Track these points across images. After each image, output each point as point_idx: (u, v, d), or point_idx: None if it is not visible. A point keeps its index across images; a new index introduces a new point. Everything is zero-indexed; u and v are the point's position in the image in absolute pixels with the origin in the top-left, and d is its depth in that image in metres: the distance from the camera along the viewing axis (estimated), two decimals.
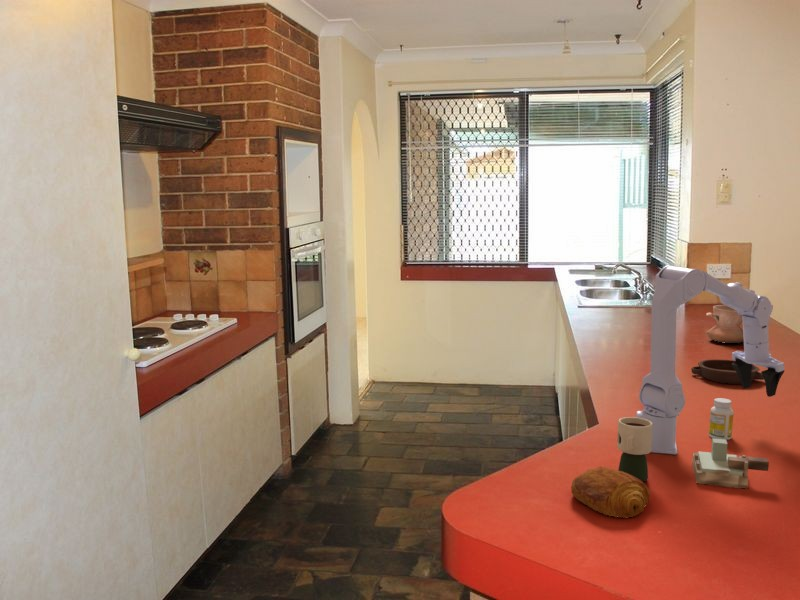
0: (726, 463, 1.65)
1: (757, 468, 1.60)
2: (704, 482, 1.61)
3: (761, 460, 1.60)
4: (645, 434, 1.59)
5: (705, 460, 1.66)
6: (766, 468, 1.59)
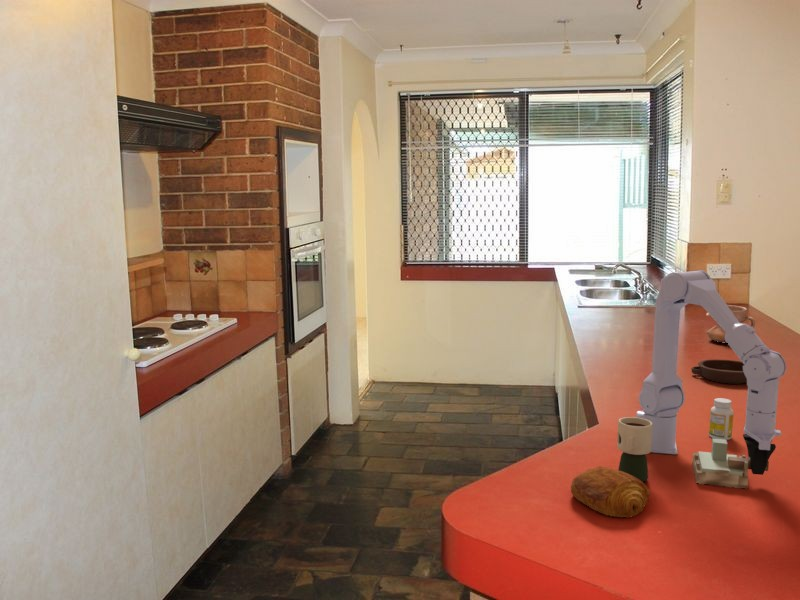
0: (726, 463, 1.65)
1: None
2: (704, 482, 1.61)
3: None
4: (645, 434, 1.59)
5: (705, 460, 1.66)
6: (766, 468, 1.59)
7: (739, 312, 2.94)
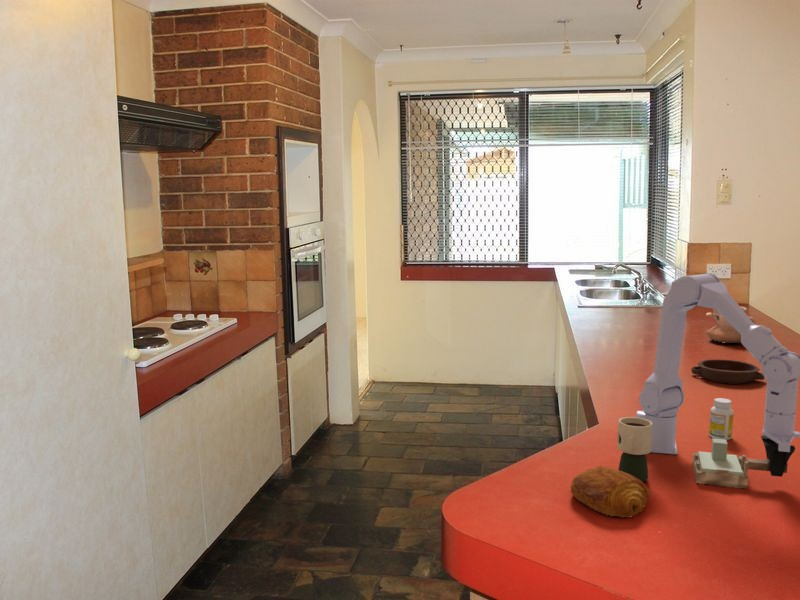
0: (726, 463, 1.65)
1: None
2: (704, 482, 1.61)
3: None
4: (645, 434, 1.59)
5: (705, 460, 1.66)
6: (785, 470, 1.58)
7: None
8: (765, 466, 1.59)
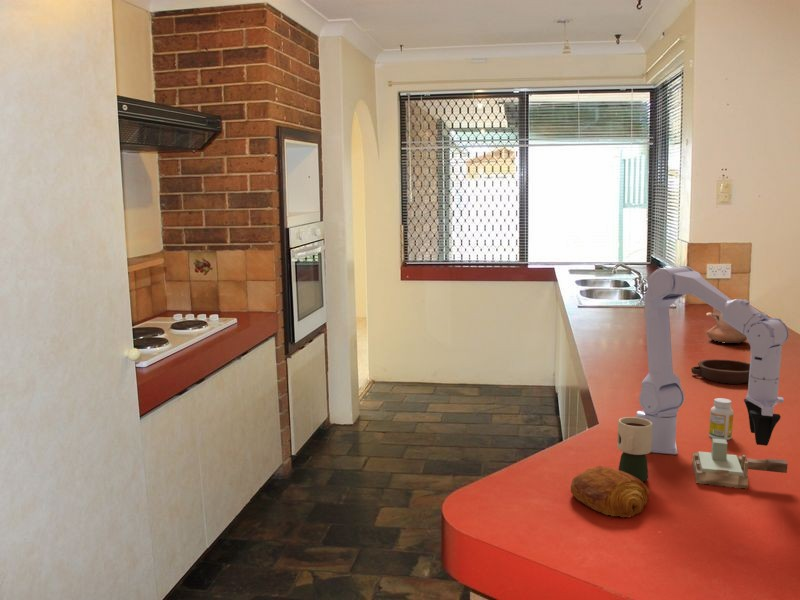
0: (726, 463, 1.65)
1: (776, 470, 1.59)
2: (704, 482, 1.61)
3: (780, 462, 1.59)
4: (645, 434, 1.59)
5: (705, 460, 1.66)
6: (785, 470, 1.58)
7: None
8: (765, 466, 1.59)
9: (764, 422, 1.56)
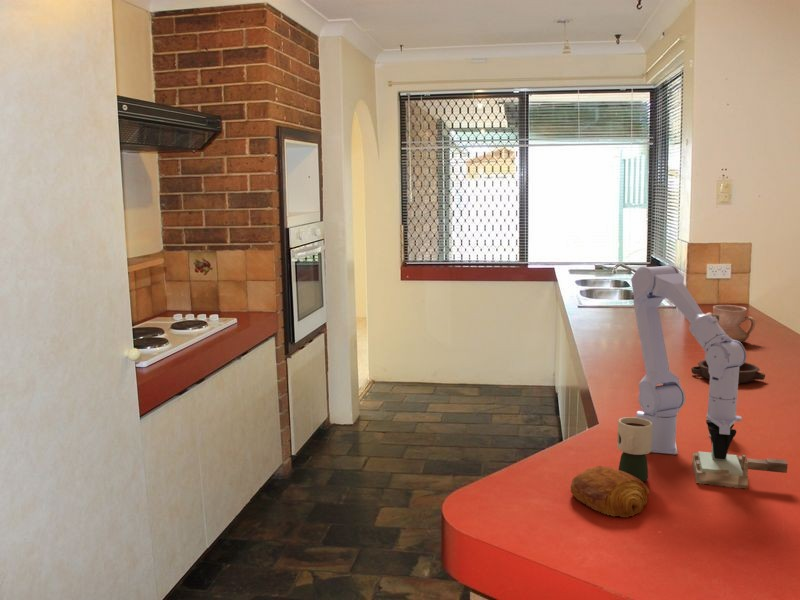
0: (726, 463, 1.65)
1: (776, 470, 1.59)
2: (704, 482, 1.61)
3: (780, 462, 1.59)
4: (645, 434, 1.59)
5: (705, 460, 1.66)
6: (785, 470, 1.58)
7: (739, 312, 2.94)
8: (765, 466, 1.59)
9: (721, 437, 1.65)
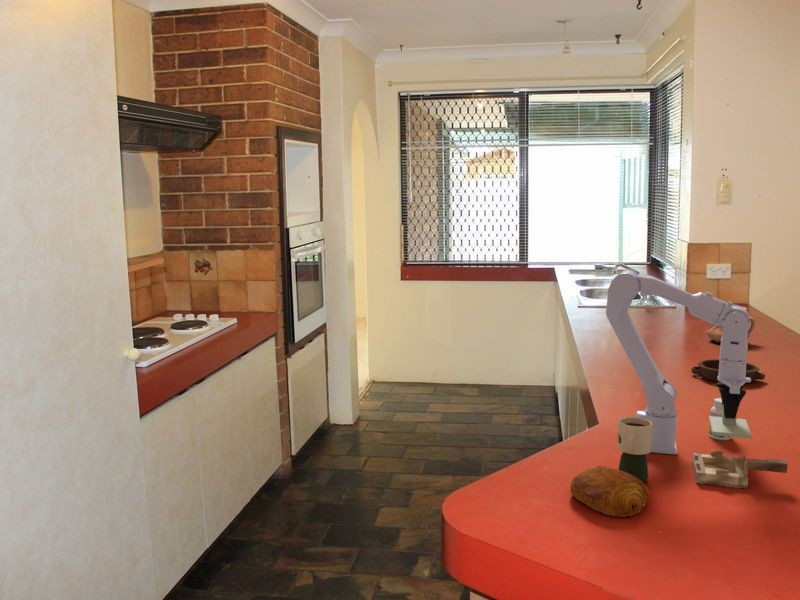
0: (736, 427, 1.73)
1: (776, 470, 1.59)
2: (704, 482, 1.61)
3: (780, 462, 1.59)
4: (645, 434, 1.59)
5: (716, 424, 1.75)
6: (785, 470, 1.58)
7: None
8: (765, 466, 1.59)
9: (731, 397, 1.73)
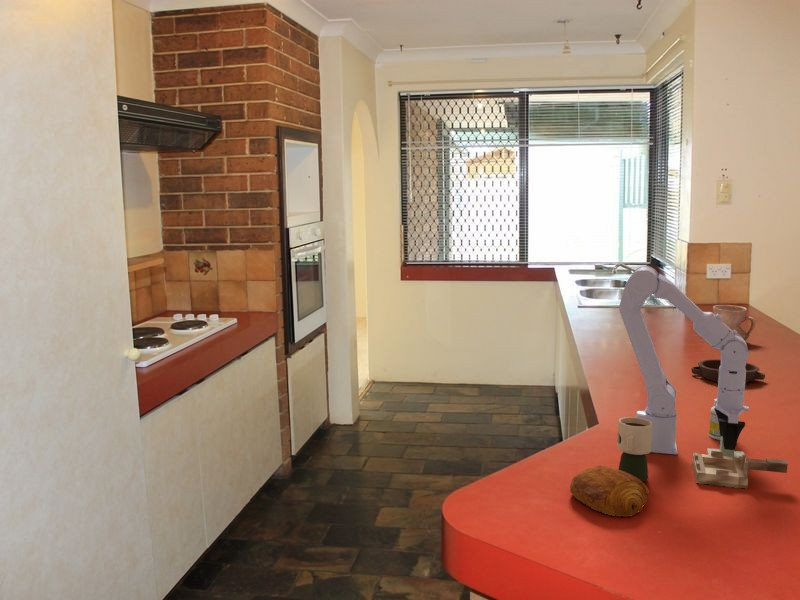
0: None
1: (776, 470, 1.59)
2: (704, 482, 1.61)
3: (780, 462, 1.59)
4: (645, 434, 1.59)
5: None
6: (785, 470, 1.58)
7: (739, 312, 2.94)
8: (765, 466, 1.59)
9: (731, 429, 1.73)
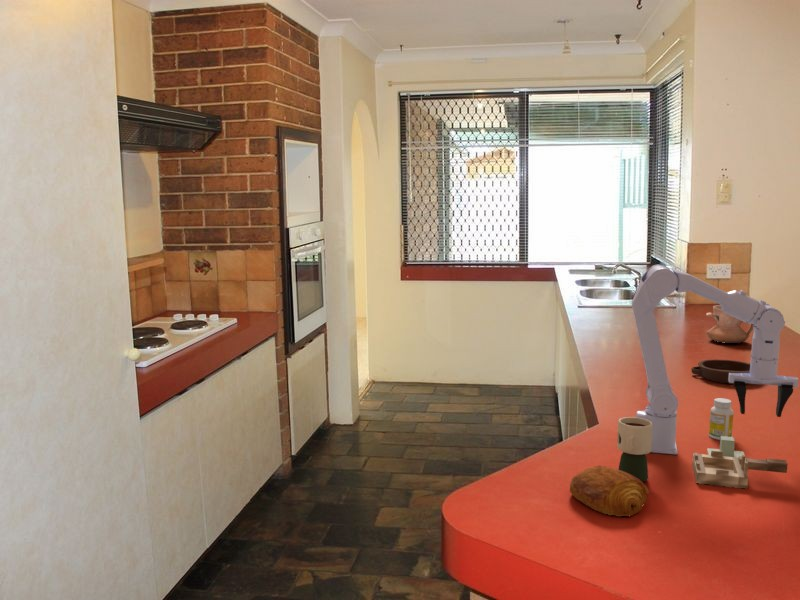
0: None
1: (776, 470, 1.59)
2: (704, 482, 1.61)
3: (780, 462, 1.59)
4: (645, 434, 1.59)
5: None
6: (785, 470, 1.58)
7: None
8: (765, 466, 1.59)
9: None
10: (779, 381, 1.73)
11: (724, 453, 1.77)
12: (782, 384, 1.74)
